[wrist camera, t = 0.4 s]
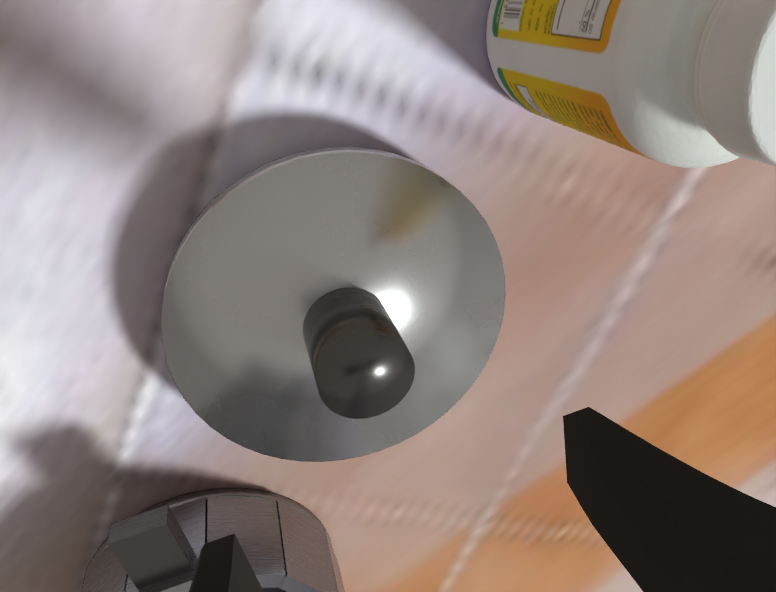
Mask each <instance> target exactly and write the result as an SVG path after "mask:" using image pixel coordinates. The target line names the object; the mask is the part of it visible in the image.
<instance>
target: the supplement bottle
mask: <svg viewBox="0 0 776 592" xmlns="http://www.w3.org/2000/svg"><path fill="white" fill-rule="evenodd" d="M486 42H487V52H488V57H489V61H490V65H491V68H492V70H493V73H494V76H495V78H496V80H497V82H498V83H499V85H500V86H501V88H502V89H503V90H504V91H505V93H506V94H507V95H508V96H509V97H510V98H511V99H512V100H513V101H514V102H516V103H517V104H518V105H519V106H521V107H522V108H524V109H525V110H527V111H529V112H532V113H534V114H537V115H539V116H542V117H544V118H547V119H550V120H552V121H554V122H557V123H559V124H562V125H564V126H567V127H570V128H573V129H575V130H578V131H580V132H583V133H585V134H588V135H591V136H593V137H596V138H598V139H601V140H604V141H606V142H608V143H611V144H613V145H616V146H619V147H621V148H624V149H626V150H629V151H631V152H634V153H637V154H639V155H642V156H644V157H647V158H649V159H652V160H655V161H657V162H661V163H664V164H667V165H672V166H677V167H685V168H701V167H710V166H715V165H719V164H723V163H726V162H729V161H732V160H735V159H737V158H739V157H740V158H744V159H748V160H754V161H759V162H763V163H766V164H770V165H773V166H776V0H492V1H491V5H490V8H489V12H488V19H487V28H486Z"/></svg>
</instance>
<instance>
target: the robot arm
mask: <svg viewBox="0 0 776 592" xmlns="http://www.w3.org/2000/svg"><path fill="white" fill-rule="evenodd" d="M563 421H564V437H565V453H566V469H567V483H568V484H569V486H570V488H571V489H572V491H573V493H574V495H575V496H576V498H577V500H578V502H579V503H580V505H581V507H582V508H583V510H584V512H585V513H586V515H587V516H588V518H589V520H590V521H591V523H592V525H593V526H594V527H595V529H596V530H597V531H598V533H599V534H600V535H601V537H602V538H603V539H604V541H605V542H606V543H607V545H608V546H609V547H610V549H611V550H612V551H613V553H614V554H615V555H616V557H617V558H618V559H619V560H620V562H621V563H622V564H623V566H624V567H625V568H626V570H627V571H628V572H629V573H630V575H631V576H632V577H633V579H634V580H635V581H636V583H637V584H638V585H639V587H640V588H641V589H642V590H643V592H776V507H773V506H771V505H769V504H766V503H764V502H762V501H759V500H757V499H755V498H753V497H751V496H748V495H746V494H744V493H742V492H740V491H738V490H736V489H734V488H732V487H730V486H728V485H726V484H724V483H722V482H720V481H718V480H716V479H714V478H712V477H710V476H708V475H706V474H704V473H702V472H700V471H698V470H697V469H695V468H693V467H691V466H689V465H687V464H686V463H684V462H682V461H680V460H678V459H677V458H675V457H673V456H671V455H669V454H668V453H666V452H664V451H662V450H660V449H659V448H657V447H655V446H654V445H652V444H650V443H648V442H647V441H645V440H643V439H642V438H640V437H638V436H637V435H635V434H633V433H631V432H630V431H628V430H626V429H625V428H623V427H621V426H620V425H618V424H617V423H615V422H613V421H612V420H610V419H608V418H607V417H605V416H603V415H602V414H600V413H598V412H597V411H595V410H593V409H591V408H590V407H587V408H585V409H582V410H579V411H576V412H573V413H571V414H568V415H565V416H563ZM189 592H264V591H263V589H262V587H261V585H260V583H259V581H258V579H257V577H256V575H255V573H254V571H253V569H252V567H251V565H250V563H249V561H248V559H247V557H246V555H245V553H244V551H243V549H242V547H241V545H240V543H239V541H238V539H237V537H236V535H235V533H234V534H231V535H228V536H226V537H223V538H220V539H217V540H214V541H212V542H209V543H206V544H204V546H203V547H202V549H201V551H200V555H199V558H198V562H197V566H196V569H195V573H194V576H193V580H192V583H191V586H190V590H189Z"/></svg>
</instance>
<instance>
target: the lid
mask: <svg viewBox="0 0 776 592" xmlns="http://www.w3.org/2000/svg"><path fill="white" fill-rule="evenodd" d="M505 296H506V295H505V275H504V269H503V264H502V258H501V255H500V252H499V249H498V246H497V243H496V240H495V238H494V236H493V234H492V232H491V230H490V228H489V226H488V225H487V223H486V221H485V220H484V218H483V217H482V216H481V214H480V213H479V211H478V210H477V209H476V207H475V206H474V205H473V204H472V203H471V202H470V201H469V200H468V199H467V198H466V197H465V196H464V195H463V194H462V193H461V192H460V191H459V190H458V189H457V188H455V187H454V186H453V185H451V184H450V183H449V182H447V181H446V180H445V179H443V178H442V177H441V176H439V175H438V174H437V173H435V172H434V171H432V170H430V169H429V168H427V167H425V166H423V165H421V164H419V163H417V162H416V161H413V160H411V159H408V158H405V157H402V156H400V155H397V154H394V153H390V152H385V151H381V150H376V149H371V148H359V147H331V148H319V149H314V150H309V151H304V152H299V153H295V154H292V155H289V156H286V157H283V158H280V159H277V160H274V161H272V162H270V163H268V164H266V165H264V166H262V167H260V168H258V169H256V170H254V171H251V172H249V173H248V174H246V175H245V176H243V177H242V178H240V179H239V180H238V181H236V182H235V183H233V184H232V185H230V186H229V187H227V188H226V189H225V190H224V191H223V192H222V193H221V194H219V195H218V196H217V197H216V198H215V199H214V200H213V201H212V202H210V203H209V204H208V206H207V207H206V208H205V209H204V210H203V212H202V213H201V214H200V215H199V216H198V217H197V219H196V220H195V221H194V222H193V224H192V225H191V227H190V228H189V230H188V232H187V233H186V235H185V236H184V238H183V239H182V241H181V243H180V245H179V247H178V249H177V252H176V254H175V256H174V258H173V261H172V263H171V266H170V270H169V274H168V277H167V281H166V284H165V290H164V297H163V305H162V314H161V331H162V343H163V348H164V353H165V358H166V362H167V364H168V367H169V370H170V372H171V375H172V377H173V380H174V382H175V384H176V385H177V387H178V389H179V391H180V392H181V394H182V396H183V397H184V399H185V400H186V401H187V403H188V404H189V405H190V406H191V408H192V409H193V410H194V411H195V413H196V414H197V415H198V416H199V417H201V418H202V419H203V420H204V421H205V422H206V423H207V424H208V425H209V426H210V427H212V428H213V429H214V430H216V431H217V432H219V433H220V434H222V435H223V436H224V437H226V438H227V439H229V440H231V441H233V442H235V443H237V444H239V445H241V446H243V447H245V448H248V449H250V450H253V451H256V452H258V453H261V454H264V455H268V456H272V457H277V458H281V459H287V460H295V461H312V462H324V461H335V460H344V459H349V458H355V457H360V456H364V455H367V454H371V453H374V452H377V451H381V450H383V449H386V448H388V447H391V446H393V445H396V444H398V443H400V442H402V441H404V440H406V439H408V438H410V437H412V436H414V435H415V434H417V433H419V432H420V431H422V430H423V429H425V428H426V427H428V426H429V425H431V424H432V423H434V422H435V421H436V420H437V419H439V418H440V417H441V416H442V415H444V414H445V413H446V412H447V411H449V410H450V409H451V408H452V407H453V406H454V405H455V404H456V403H457V402H458V401H459V400H460V399H461V398H462V397H463V395H464V394H465V393H466V392H467V391H468V389H469V388H470V387H471V386H472V384H473V383H474V382H475V380H476V379H477V377H478V376H479V374H480V373H481V371H482V370H483V368H484V367H485V365H486V363H487V361H488V359H489V357H490V355H491V353H492V351H493V348H494V346H495V343H496V340H497V338H498V335H499V332H500V328H501V323H502V319H503V315H504V306H505Z"/></svg>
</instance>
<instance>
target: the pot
mask: <svg viewBox="0 0 776 592" xmlns="http://www.w3.org/2000/svg"><path fill="white" fill-rule="evenodd" d="M234 533H235V535H236V537H237V539H238V541H239V543H240V545H241V547H242V549H243V551H244V553H245V555H246V557H247V559H248V561H249V563H250V565H251V567H252V569H253V571H254V573H255V575H256V577H257V579H258V581H259V583H260V585H261V587H262V589H263V591H264V592H345V591H344V586H343V582H342V577H341V573H340V568H339V565H338V562H337V559H336V557H335V554H334V551H333V548H332V544H331V540H330V537H329V535H328V533H327V531H326V529H325V527H324V526H323V524H322V523H321V522H320V520H319V519H318V518H317V517H316V516H315V515H314V514H313V513H312V512H310V511H309V510H308V509H306V508H305V507H303V506H302V505H300V504H299V503H297V502H295V501H293V500H291V499H289V498H286V497H283V496H280V495H277V494H274V493H270V492H265V491H261V490H254V489H244V488H222V489H212V490H204V491H199V492H194V493H189V494H185V495H182V496H178V497H175V498H171V499H169V500H166V501H164V502H161V503H159V504H156V505H154V506H152V507H150V508H148V509H146V510H144V511H142V512H140V513H139V514H137V515H136V516H133V517H130V518H127V519H124V520H121V521H118V522H115V523H112V524H111V528H110V534H109V537H108V538H107V539H106V540H105V542H104V543H103V544H102V545H101V547H100V548H99V549H98V551H97V552H96V554H95V555H94V557H93V559H92V561H91V562H90V563H89V564H88V566H87V569H86V573H85V578H84V582H83V587H82V592H189V590H190V586H191V583H192V580H193V576H194V573H195V569H196V566H197V562H198V558H199V555H200V551H201V549H202V547H203V546H204V544H206V543H209V542H212V541H214V540H217V539H220V538H223V537H226V536H228V535H231V534H234Z"/></svg>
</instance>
